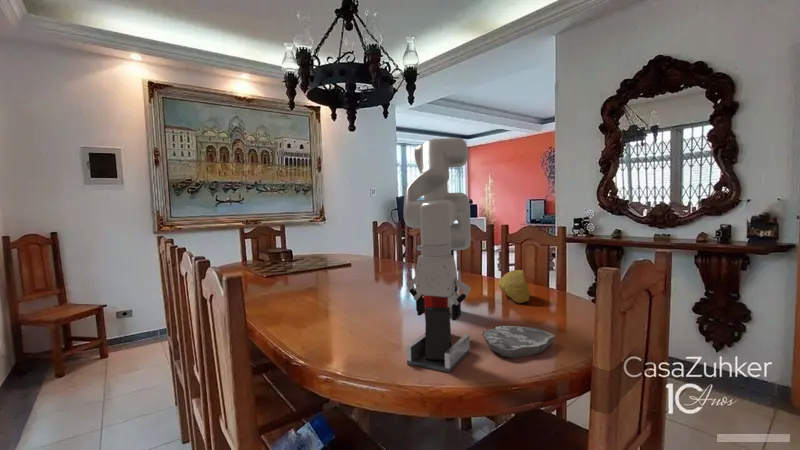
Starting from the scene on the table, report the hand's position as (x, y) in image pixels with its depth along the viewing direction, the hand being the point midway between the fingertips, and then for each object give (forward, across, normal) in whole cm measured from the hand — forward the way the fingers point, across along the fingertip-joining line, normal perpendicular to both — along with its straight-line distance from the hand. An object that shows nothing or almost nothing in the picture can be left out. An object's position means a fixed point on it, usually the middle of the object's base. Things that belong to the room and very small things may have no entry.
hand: (438, 316), depth 101 cm
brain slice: (+11, +16, +15) cm, 25 cm away
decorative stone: (+12, +5, +64) cm, 66 cm away
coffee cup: (+11, -8, +15) cm, 20 cm away
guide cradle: (+11, 0, -1) cm, 11 cm away
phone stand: (+10, 0, -1) cm, 10 cm away
